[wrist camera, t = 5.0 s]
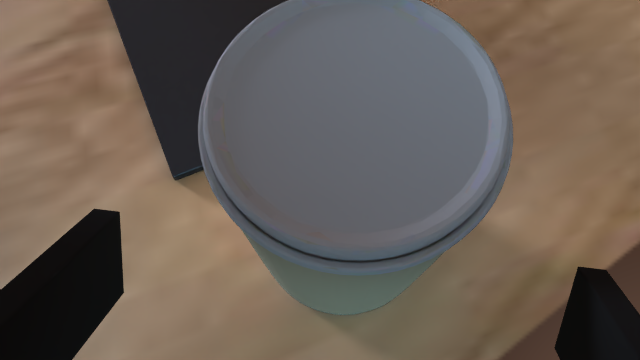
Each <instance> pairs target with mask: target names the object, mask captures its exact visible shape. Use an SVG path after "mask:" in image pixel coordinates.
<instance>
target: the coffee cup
mask: <svg viewBox="0 0 640 360" xmlns="http://www.w3.org/2000/svg"><path fill="white" fill-rule="evenodd" d="M198 143H199V149H200V155H201V161H202V164H203V168H204V171H205V174H206V177H207V179H208V182H209V184H210V186H211V189H212V191H213V192H214V194H215V196H216V198H217V199H218V201H219V203H220V204H221V206H222V207H223V208H224V210H225V211H226V212H227V214H228V215H229V216H230V217H231V219H232V220H233V221H234V222H235V223H236V224H237V225H238V226H239V227H240V228H241V230H242V231H243V233H244V234H245V236H246V237H247V239H248V240H249V242H250V243H251V245H252V246H253V248H254V249H255V251H256V252H257V254H258V255H259V257H260V258H261V260H262V261H263V262H264V264H265V265H266V267H267V268H268V270H269V271H270V273H271V274H272V276H273V277H274V278H275V279H276V281H277V282H278V283H279V284H280V285H281V287H282V288H283V289H284V290H285V291H286V292H287V293H288V294H290V295H291V296H292V297H293V298H295V299H296V300H298V301H299V302H300V303H302V304H304V305H306V306H308V307H310V308H313V309H315V310H318V311H322V312H325V313H331V314H340V315H349V314H358V313H363V312H367V311H370V310H373V309H376V308H378V307H381V306H383V305H384V304H386V303H388V302H389V301H391V300H392V299H394V298H395V297H396V296H398V295H399V294H401V293H402V292H403V291H404V290H405V289H406V288H407V287H408V286H409V285H411V284H412V283H413V282H414V281H415V280H416V279H417V278H418V277H419V276H420V275H421V274H422V273H423V272H424V271H426V270H427V269H428V268H429V267H430V266H431V265H432V264H433V263H434V262H435V261H436V260H437V259H438V258H439V257H440V256H441V255H442V254H443V253H444V252H445V251H446V250H448V249H449V248H451V247H452V246H453V245H455V244H456V243H458V242H459V241H460V240H462V239H463V238H464V237H465V236H466V235H467V234H468V233H469V232H471V231H472V230H473V229H474V228H475V227H476V226H477V225H478V223H479V222H480V221H481V220H482V219H483V218H484V217H485V215H486V214H487V213H488V211H489V210H490V208H491V207H492V205H493V204H494V202H495V200H496V198H497V197H498V195H499V193H500V191H501V189H502V186H503V184H504V181H505V178H506V175H507V173H508V170H509V165H510V161H511V156H512V147H513V124H512V118H511V111H510V107H509V103H508V100H507V96H506V93H505V90H504V86H503V83H502V81H501V78H500V76H499V74H498V72H497V69H496V68H495V66H494V64H493V62H492V60H491V59H490V57H489V56H488V54H487V53H486V51H485V50H484V49H483V47H482V46H481V45H480V44H479V42H478V41H477V40H476V39H475V38H474V37H473V36H472V35H471V34H470V33H469V32H468V31H467V30H466V29H465V28H464V27H463V26H462V25H460V24H459V23H458V22H456V21H455V20H453V19H452V18H451V17H449V16H448V15H446V14H445V13H443V12H442V11H440V10H438V9H437V8H435V7H432V6H430V5H428V4H426V3H424V2H421V1H419V0H288V1H286V2H283V3H281V4H279V5H277V6H275V7H273V8H271V9H269V10H268V11H266V12H265V13H263V14H262V15H260V16H259V17H257V18H256V19H255V20H253V21H252V22H251V23H250V24H248V25H247V26H246V27H245V28H244V29H243V30H242V31H241V32H240V33H239V34H238V35H237V36H236V37H235V38H234V39H233V40H232V42H231V43H230V44H229V46H228V47H227V48H226V50H225V51H224V53H223V54H222V56H221V57H220V59H219V60H218V62H217V65H216V67H215V68H214V70H213V72H212V74H211V76H210V78H209V80H208V82H207V85H206V88H205V91H204V94H203V97H202V101H201V106H200V111H199V121H198Z"/></svg>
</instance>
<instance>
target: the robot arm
mask: <svg viewBox="0 0 640 360" xmlns="http://www.w3.org/2000/svg"><path fill="white" fill-rule="evenodd" d="M123 293H124V288H123V269H122V249H121V229H120V212H117V211H108V210H100V209H93V210H92V211H91V212H90V213H89V214H88V215H86V216H85V217H84V218H83V219H82V220H81V221H80V222H78V223H77V224H76V225H75V226H74V227H73V228H71V229H70V230H69V231H68V232H67V233H66V234H65V235H63V236H62V237H61V238H60V239H59V240H58V241H56V242H55V243H54V244H53V245H52V246H51V247H50V248H48V249H47V250H46V251H45V252H44V253H43V254H42V255H40V256H39V257H38V258H37V259H36V260H35V261H33V262H32V263H31V264H30V265H29V266H28V267H27V268H25V269H24V270H23V271H22V272H21V273H20V274H18V275H17V276H16V277H15V278H14V279H13V280H12V281H10V282H9V283H8V284H7V285H6V286H5V287H4V288H2V289H0V360H72V359H73V358H74V357H75V355H76V354H77V353H78V351H79V350H80V349H81V347H82V346H83V345H84V344H85V342H86V341H87V340H88V338H89V337H90V336H91V334H92V333H93V332H94V331H95V329H96V328H97V327H98V325H99V324H100V323H101V321H102V320H103V319H104V318H105V316H106V315H107V314H108V312H109V311H110V310H111V308H112V307H113V306H114V305H115V303H116V302H117V301H118V299H119V298H120V297H121V295H122V294H123ZM555 350H556V352H557V354H558V356H559V358H560V360H640V315H639V313H638V312H637V311H636V309H635V308H634V307H633V305H632V304H631V303H630V301H629V300H628V299H627V297H626V296H625V294H624V293H623V292H622V290H621V289H620V288H619V286H618V285H617V284H616V282H615V281H614V280H613V278H612V277H611V276H610V274H608V272H607V270H602V269H593V268H585V267H578V269H577V272H576V276H575V279H574V282H573V286H572V289H571V293H570V296H569V300H568V303H567V307H566V310H565V313H564V317H563V321H562V324H561V327H560V331H559V334H558V338H557V341H556V344H555Z"/></svg>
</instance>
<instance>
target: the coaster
mask: <svg viewBox="0 0 640 360" xmlns="http://www.w3.org/2000/svg"><path fill="white" fill-rule="evenodd" d="M107 1H108V3H109V6H110V9H111V11H112V14H113V17H114V19H115V22H116V25H117V28H118V30H119V33H120V36H121V38H122V41H123V44H124V46H125V49H126V52H127V54H128V57H129V60H130V63H131V65H132V68H133V71H134V73H135V76H136V79H137V81H138V84H139V87H140V90H141V92H142V95H143V98H144V100H145V103H146V106H147V108H148V111H149V114H150V117H151V119H152V122H153V125H154V127H155V130H156V133H157V135H158V138H159V141H160V144H161V146H162V149H163V152H164V154H165V157H166V160H167V162H168V165H169V168H170V170H171V173H172V176H173V178H174V180H179V179H181V178H184V177H186V176H189V175H191V174H194V173H197V172H199V171H202V170H204V168H203V164H202V161H201V155H200V149H199V143H198V121H199V111H200V106H201V101H202V97H203V94H204V91H205V88H206V85H207V82H208V80H209V78H210V76H211V74H212V72H213V70H214V68H215V67H216V65H217V62H218V60H219V59H220V57H221V56H222V54H223V53H224V51H225V50H226V48H227V47H228V46H229V44H230V43H231V42H232V40H233V39H234V38H235V37H236V36H237V35H238V34H239V33H240V32H241V31H242V30H243V29H244V28H245V27H246V26H247V25H248V24H250V23H251V22H252V21H253V20H255V19H256V18H257V17H259V16H260V15H262V14H263V13H265V12H266V11H268V10H269V9H271V8H273V7H275V6H277V5H279V4H281V3H283V2H286V1H288V0H107Z"/></svg>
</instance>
